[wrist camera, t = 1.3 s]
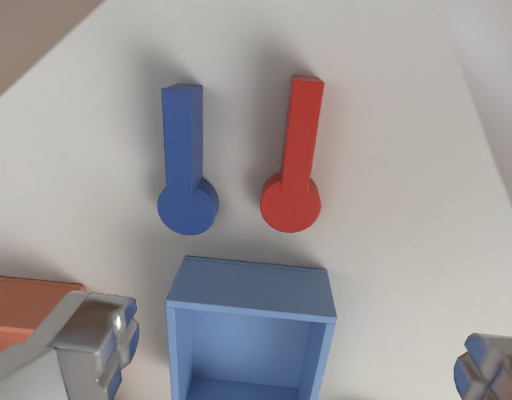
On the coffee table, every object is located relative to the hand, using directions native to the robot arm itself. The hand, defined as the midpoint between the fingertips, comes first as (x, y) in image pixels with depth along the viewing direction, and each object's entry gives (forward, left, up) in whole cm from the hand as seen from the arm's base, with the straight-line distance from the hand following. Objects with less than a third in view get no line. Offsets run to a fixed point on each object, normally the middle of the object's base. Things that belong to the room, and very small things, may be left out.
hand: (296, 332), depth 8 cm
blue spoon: (+1, -6, -15) cm, 16 cm away
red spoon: (0, +1, -15) cm, 15 cm away
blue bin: (+16, -1, -15) cm, 22 cm away
